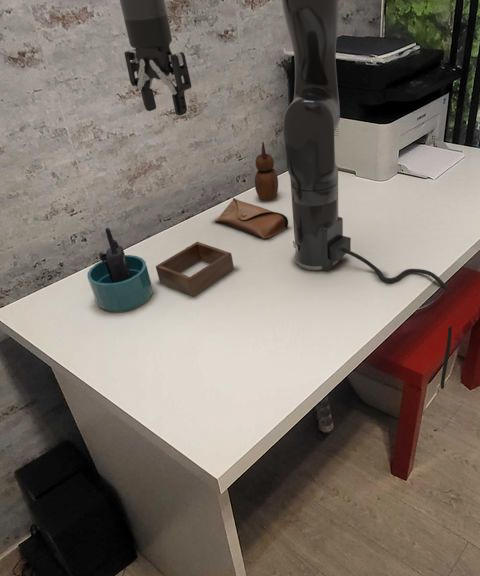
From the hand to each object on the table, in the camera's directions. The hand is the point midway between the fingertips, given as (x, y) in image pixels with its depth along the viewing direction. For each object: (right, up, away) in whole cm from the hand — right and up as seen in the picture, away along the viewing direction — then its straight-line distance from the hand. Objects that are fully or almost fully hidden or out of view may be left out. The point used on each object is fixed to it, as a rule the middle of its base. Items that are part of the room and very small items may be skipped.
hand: (166, 112), depth 102 cm
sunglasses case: (+14, -16, +26) cm, 34 cm away
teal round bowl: (-9, -36, +4) cm, 37 cm away
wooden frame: (+5, -31, +9) cm, 32 cm away
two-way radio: (-9, -35, +4) cm, 37 cm away
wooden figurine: (+18, -6, +38) cm, 42 cm away
